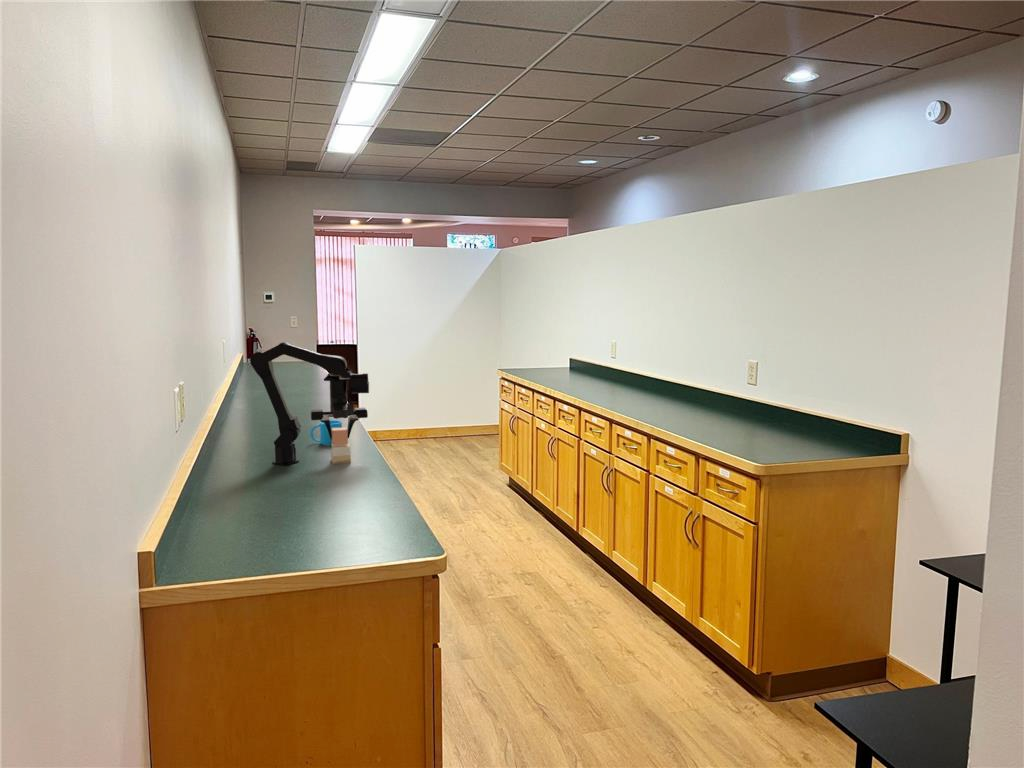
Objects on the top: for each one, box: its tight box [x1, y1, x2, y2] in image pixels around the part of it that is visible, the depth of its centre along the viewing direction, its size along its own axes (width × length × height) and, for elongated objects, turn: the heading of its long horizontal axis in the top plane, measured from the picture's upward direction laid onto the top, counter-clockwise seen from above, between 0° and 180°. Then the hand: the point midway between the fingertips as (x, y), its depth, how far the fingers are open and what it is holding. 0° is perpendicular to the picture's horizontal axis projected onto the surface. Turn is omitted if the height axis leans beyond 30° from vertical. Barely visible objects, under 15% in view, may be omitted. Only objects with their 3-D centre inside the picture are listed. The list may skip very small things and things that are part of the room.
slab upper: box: [331, 442, 351, 456], centre depth 257 cm, size 6×6×3 cm
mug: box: [309, 420, 343, 446], centre depth 287 cm, size 12×8×8 cm
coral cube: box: [331, 426, 349, 445], centre depth 256 cm, size 5×5×5 cm
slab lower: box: [330, 452, 352, 465], centre depth 257 cm, size 6×6×3 cm
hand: (339, 438), depth 256 cm, fingers open, 5 cm apart
